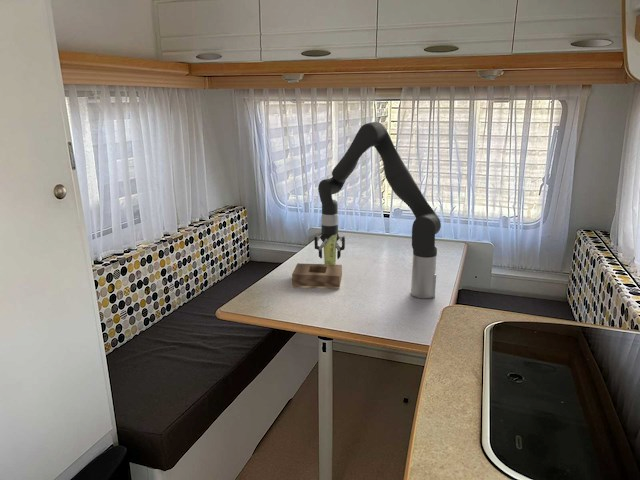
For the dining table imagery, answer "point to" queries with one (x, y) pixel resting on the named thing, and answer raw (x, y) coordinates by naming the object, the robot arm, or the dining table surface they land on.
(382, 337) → the dining table surface
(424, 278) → the robot arm
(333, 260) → the tube
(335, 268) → the slotted block
